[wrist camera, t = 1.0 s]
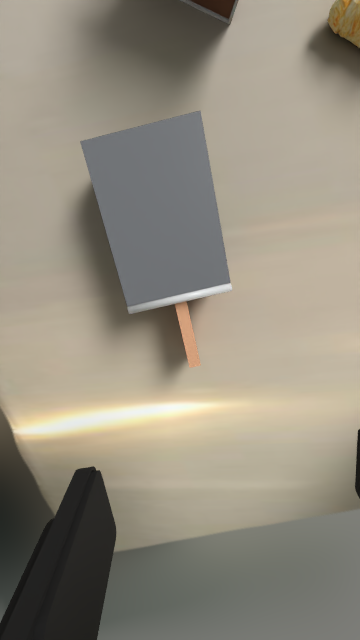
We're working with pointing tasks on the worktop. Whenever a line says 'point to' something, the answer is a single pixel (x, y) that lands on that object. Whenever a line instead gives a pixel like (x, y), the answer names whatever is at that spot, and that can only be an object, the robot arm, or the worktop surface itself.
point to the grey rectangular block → (160, 211)
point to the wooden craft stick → (187, 334)
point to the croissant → (346, 20)
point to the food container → (215, 8)
